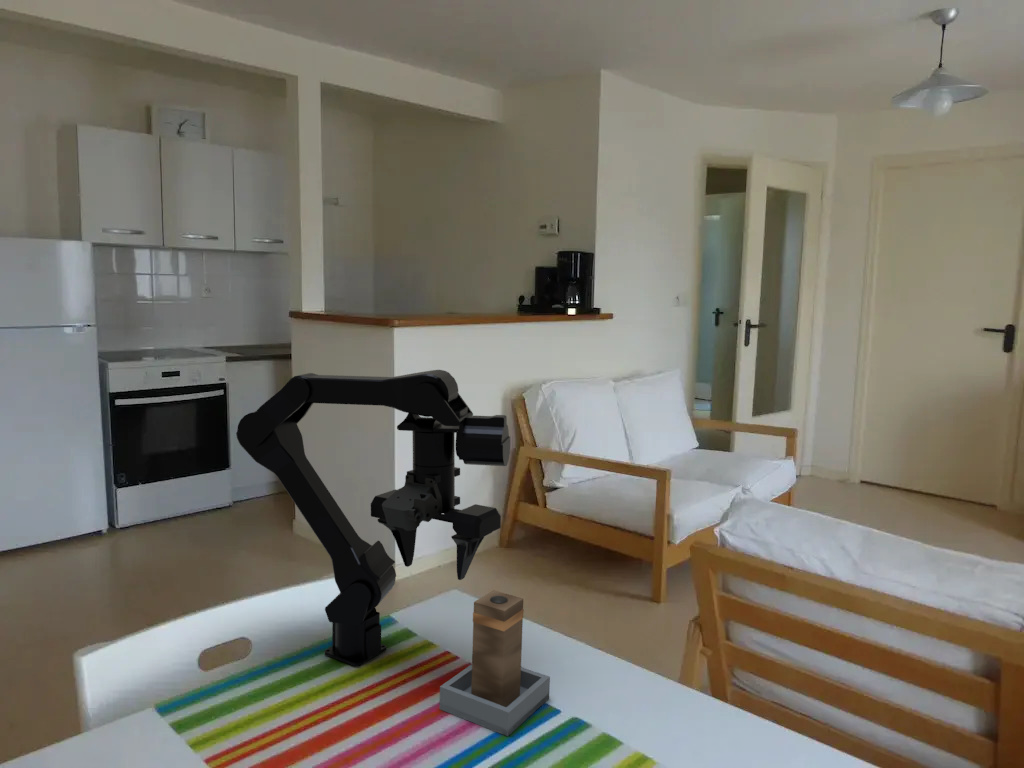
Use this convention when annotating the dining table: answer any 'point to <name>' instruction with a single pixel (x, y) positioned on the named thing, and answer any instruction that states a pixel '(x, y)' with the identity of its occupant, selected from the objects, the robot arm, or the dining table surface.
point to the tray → (491, 714)
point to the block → (497, 647)
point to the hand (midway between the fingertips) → (434, 572)
